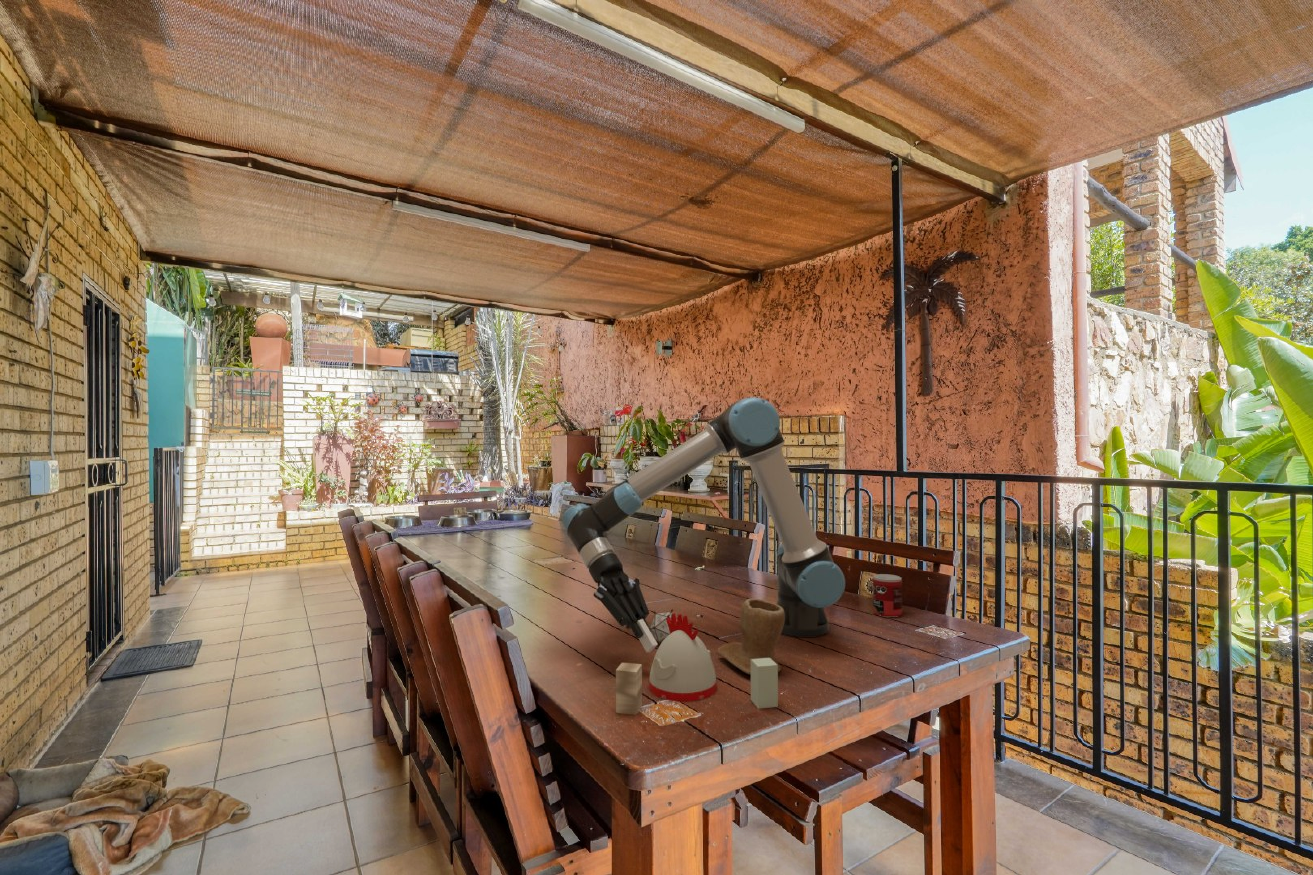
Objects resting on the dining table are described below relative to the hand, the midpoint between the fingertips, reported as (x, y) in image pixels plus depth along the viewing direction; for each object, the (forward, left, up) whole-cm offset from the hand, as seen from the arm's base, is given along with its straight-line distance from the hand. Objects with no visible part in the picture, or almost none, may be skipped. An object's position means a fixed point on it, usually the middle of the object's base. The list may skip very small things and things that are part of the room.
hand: (652, 648), depth 130 cm
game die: (-2, -22, -6) cm, 23 cm away
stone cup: (-23, -7, -6) cm, 24 cm away
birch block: (+3, +16, -6) cm, 18 cm away
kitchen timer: (-7, +5, -6) cm, 11 cm away
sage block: (-23, +12, -6) cm, 27 cm away
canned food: (-66, -50, -6) cm, 83 cm away
